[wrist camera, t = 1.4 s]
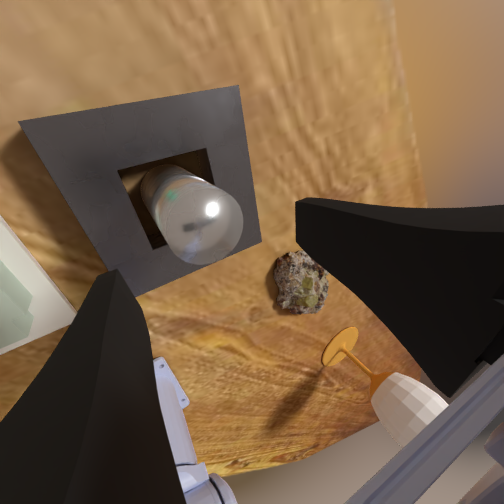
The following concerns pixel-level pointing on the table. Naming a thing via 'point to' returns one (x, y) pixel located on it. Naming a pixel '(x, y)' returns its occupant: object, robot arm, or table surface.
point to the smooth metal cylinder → (192, 214)
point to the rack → (27, 295)
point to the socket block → (139, 152)
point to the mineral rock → (300, 283)
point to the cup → (391, 393)
